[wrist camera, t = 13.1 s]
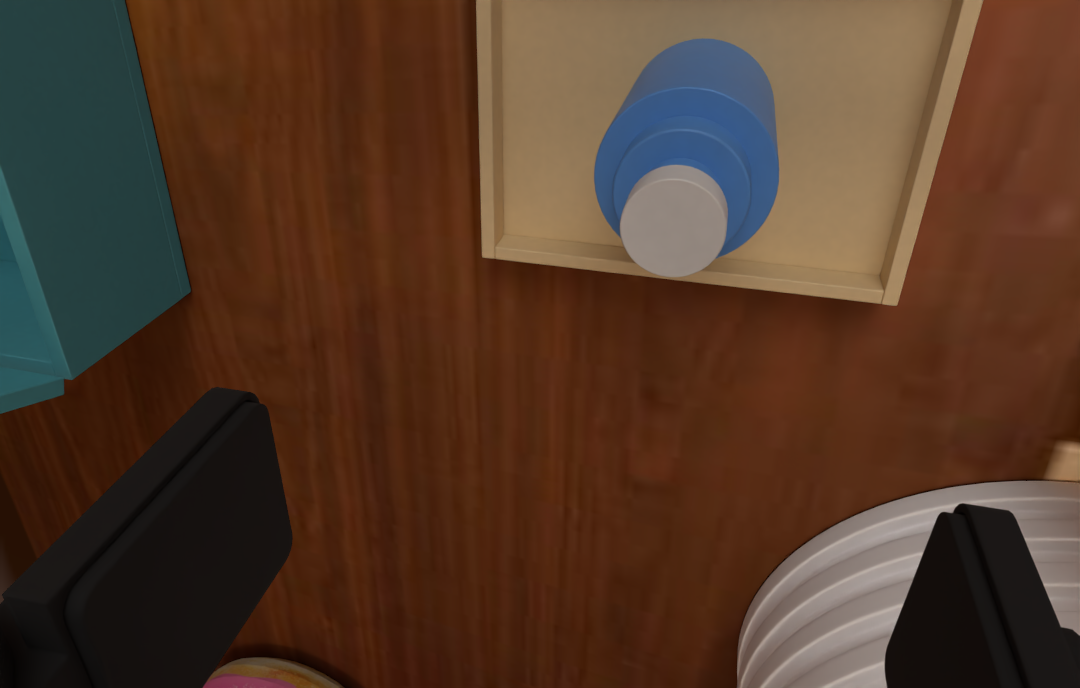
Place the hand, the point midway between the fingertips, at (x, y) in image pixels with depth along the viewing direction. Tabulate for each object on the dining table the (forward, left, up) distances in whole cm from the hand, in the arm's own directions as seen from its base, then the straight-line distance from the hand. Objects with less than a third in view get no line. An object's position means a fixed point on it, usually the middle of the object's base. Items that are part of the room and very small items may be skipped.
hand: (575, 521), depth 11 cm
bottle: (0, 0, -24) cm, 24 cm away
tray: (0, 0, -24) cm, 24 cm away
